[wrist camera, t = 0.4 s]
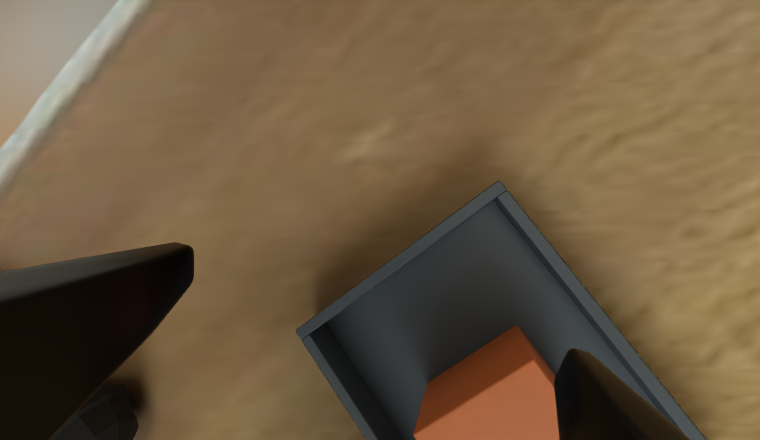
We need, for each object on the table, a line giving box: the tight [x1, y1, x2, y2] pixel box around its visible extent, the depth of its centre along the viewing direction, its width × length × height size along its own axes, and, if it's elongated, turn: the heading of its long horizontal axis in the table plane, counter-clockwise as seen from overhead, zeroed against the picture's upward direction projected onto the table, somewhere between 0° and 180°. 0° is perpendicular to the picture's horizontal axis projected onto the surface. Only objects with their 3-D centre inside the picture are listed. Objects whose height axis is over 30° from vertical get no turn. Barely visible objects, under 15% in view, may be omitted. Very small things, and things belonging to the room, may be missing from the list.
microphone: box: [49, 385, 138, 440], centre depth 26 cm, size 6×6×20 cm
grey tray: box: [296, 181, 706, 440], centre depth 20 cm, size 17×13×3 cm
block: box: [413, 325, 559, 440], centre depth 18 cm, size 4×6×6 cm, turn 126°
